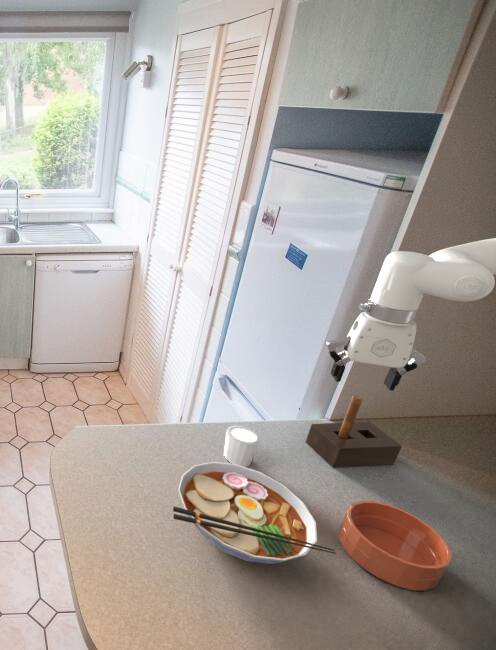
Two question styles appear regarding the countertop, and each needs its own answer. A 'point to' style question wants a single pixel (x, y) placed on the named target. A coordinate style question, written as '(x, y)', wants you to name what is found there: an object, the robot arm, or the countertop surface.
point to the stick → (350, 416)
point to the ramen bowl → (246, 513)
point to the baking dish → (394, 545)
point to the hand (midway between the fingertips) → (361, 382)
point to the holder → (353, 445)
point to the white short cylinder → (240, 445)
